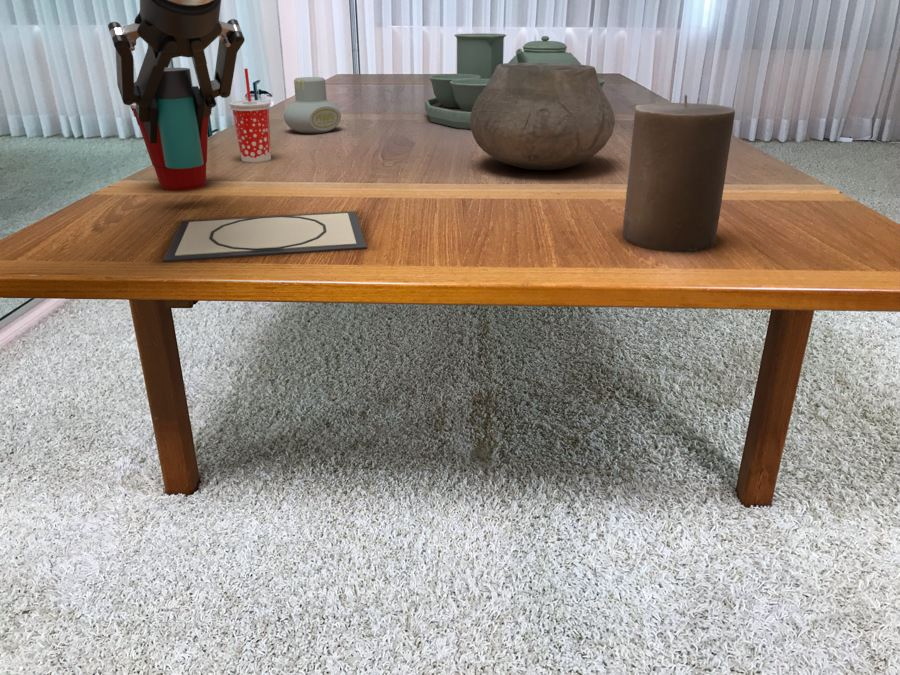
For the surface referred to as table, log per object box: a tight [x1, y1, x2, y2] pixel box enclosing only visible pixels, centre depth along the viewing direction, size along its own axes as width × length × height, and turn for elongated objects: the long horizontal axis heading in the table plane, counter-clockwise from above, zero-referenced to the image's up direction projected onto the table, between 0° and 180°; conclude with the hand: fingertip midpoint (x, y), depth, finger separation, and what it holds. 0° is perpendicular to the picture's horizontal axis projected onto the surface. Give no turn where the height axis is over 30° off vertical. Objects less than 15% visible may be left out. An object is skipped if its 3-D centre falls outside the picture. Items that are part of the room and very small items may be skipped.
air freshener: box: [283, 76, 342, 135], centre depth 139 cm, size 11×8×10 cm
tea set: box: [424, 32, 606, 130], centre depth 152 cm, size 40×40×16 cm
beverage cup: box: [229, 68, 272, 163], centre depth 113 cm, size 6×6×14 cm
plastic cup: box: [128, 103, 210, 192], centre depth 97 cm, size 11×11×12 cm
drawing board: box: [162, 210, 368, 263], centre depth 78 cm, size 20×14×1 cm
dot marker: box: [154, 67, 203, 169], centre depth 85 cm, size 5×5×11 cm
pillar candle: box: [622, 94, 736, 254], centre depth 74 cm, size 10×10×15 cm
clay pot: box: [469, 62, 616, 172], centre depth 107 cm, size 22×21×15 cm
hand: (172, 131), depth 89 cm, fingers closed on dot marker, 5 cm apart
